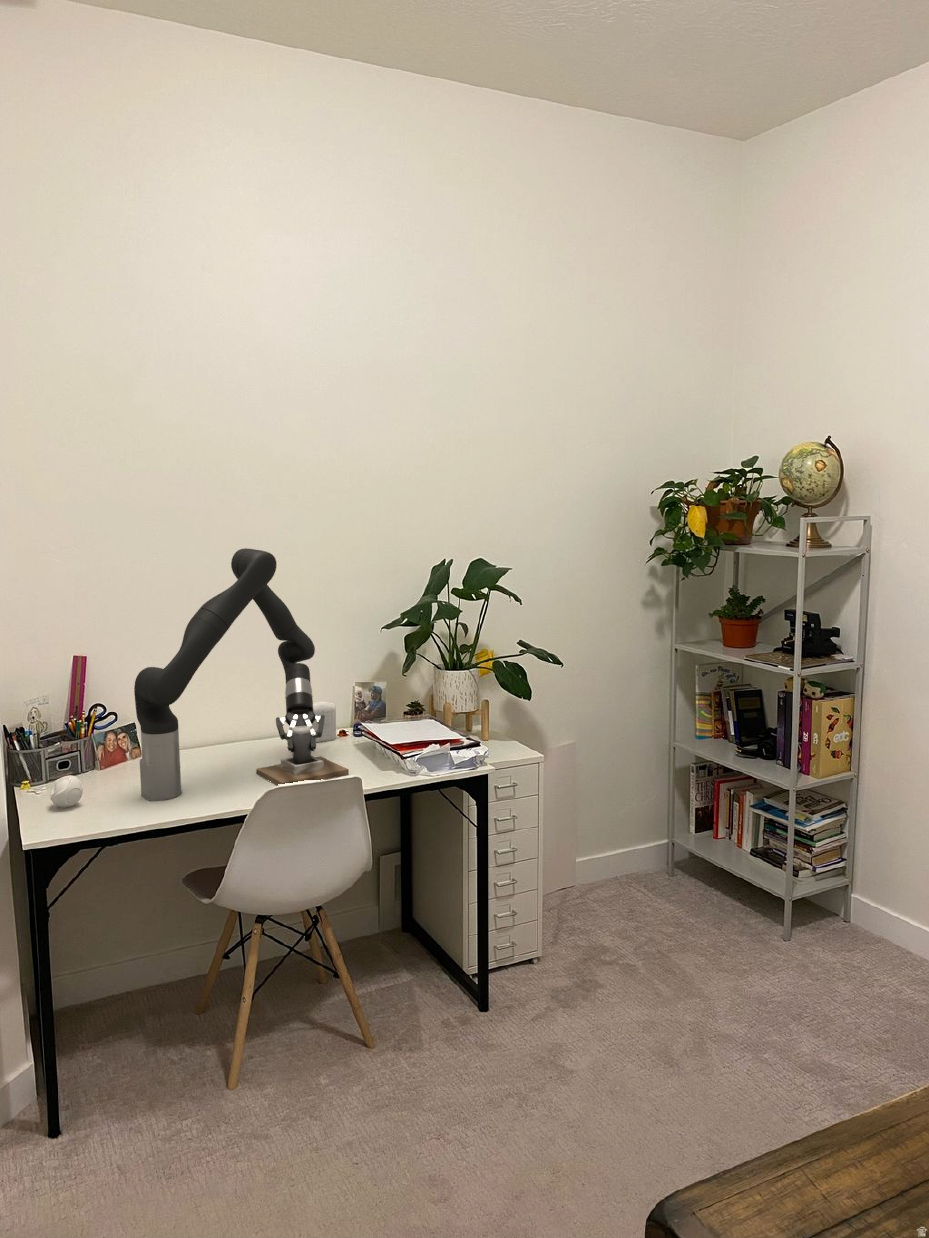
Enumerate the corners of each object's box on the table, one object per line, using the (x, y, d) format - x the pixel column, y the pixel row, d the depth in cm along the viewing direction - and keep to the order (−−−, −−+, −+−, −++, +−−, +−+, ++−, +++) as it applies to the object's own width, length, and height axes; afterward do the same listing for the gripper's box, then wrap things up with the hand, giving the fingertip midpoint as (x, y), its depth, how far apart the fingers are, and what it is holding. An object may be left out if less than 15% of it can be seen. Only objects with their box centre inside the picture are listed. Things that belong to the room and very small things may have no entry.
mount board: (282, 788, 252) (282, 773, 252) (256, 774, 265) (255, 760, 264) (348, 774, 264) (348, 760, 263) (320, 761, 277) (320, 747, 276)
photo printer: (332, 736, 304) (331, 698, 302) (338, 739, 300) (337, 701, 298) (302, 741, 298) (301, 702, 296) (308, 744, 294) (307, 705, 293)
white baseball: (50, 803, 241) (48, 773, 240) (83, 799, 244) (81, 770, 243) (51, 813, 233) (49, 782, 232) (84, 809, 236) (82, 778, 235)
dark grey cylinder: (298, 766, 261) (297, 731, 259) (289, 762, 265) (288, 727, 263) (314, 763, 264) (313, 728, 262) (306, 759, 268) (305, 724, 266)
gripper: (273, 691, 267) (275, 745, 257) (324, 689, 270) (329, 742, 260) (273, 706, 273) (275, 758, 263) (324, 703, 276) (328, 755, 266)
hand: (302, 750), depth 262 cm, fingers closed on dark grey cylinder, 5 cm apart
